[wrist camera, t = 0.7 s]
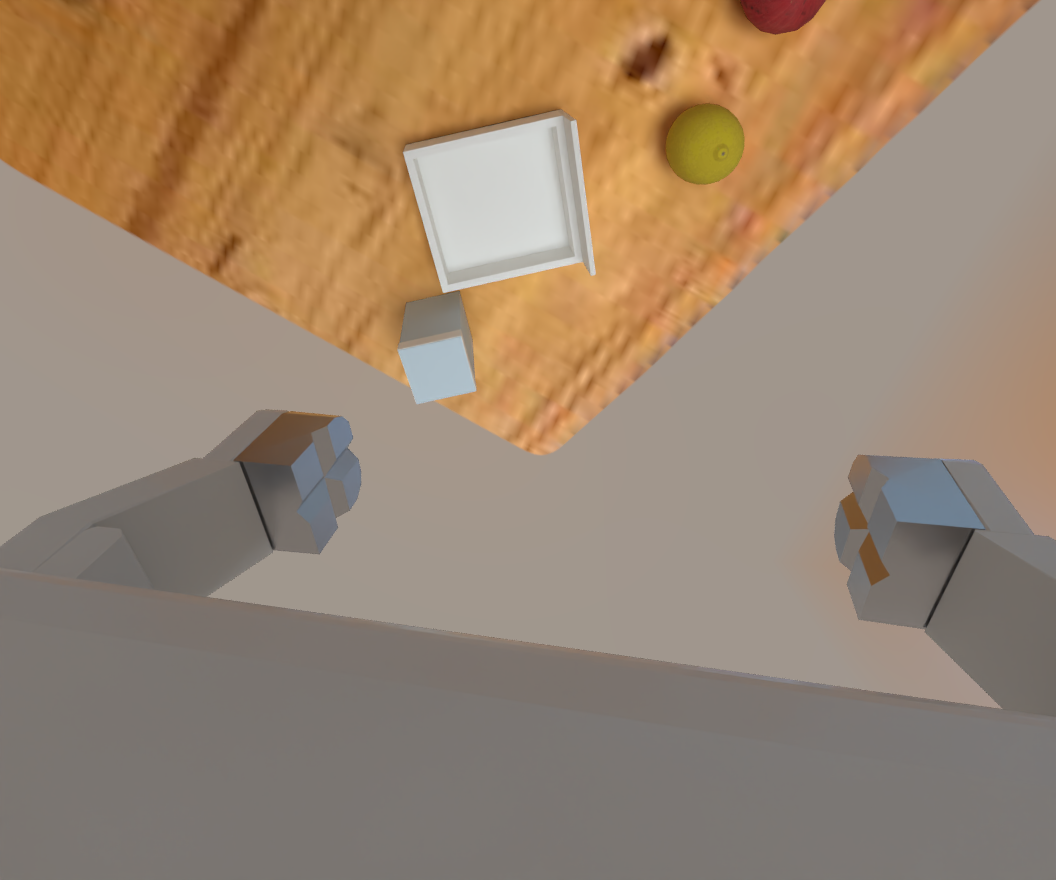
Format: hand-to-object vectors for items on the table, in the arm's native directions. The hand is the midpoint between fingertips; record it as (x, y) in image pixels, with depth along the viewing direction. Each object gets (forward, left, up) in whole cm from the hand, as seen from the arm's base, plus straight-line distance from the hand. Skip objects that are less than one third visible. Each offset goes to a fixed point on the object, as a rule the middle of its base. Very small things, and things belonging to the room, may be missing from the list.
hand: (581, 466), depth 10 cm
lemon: (+5, +17, -46) cm, 49 cm away
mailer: (+6, 0, -45) cm, 46 cm away
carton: (+16, -7, -45) cm, 49 cm away
